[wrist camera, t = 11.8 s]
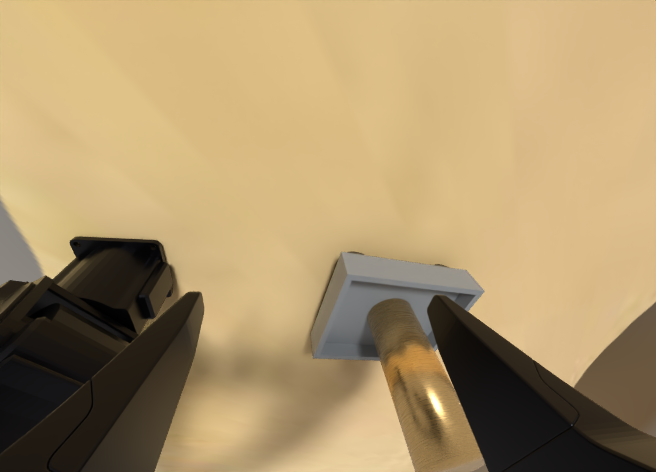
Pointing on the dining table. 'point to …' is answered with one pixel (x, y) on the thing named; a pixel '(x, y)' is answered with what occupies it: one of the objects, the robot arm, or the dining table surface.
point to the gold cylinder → (422, 392)
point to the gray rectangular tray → (375, 286)
